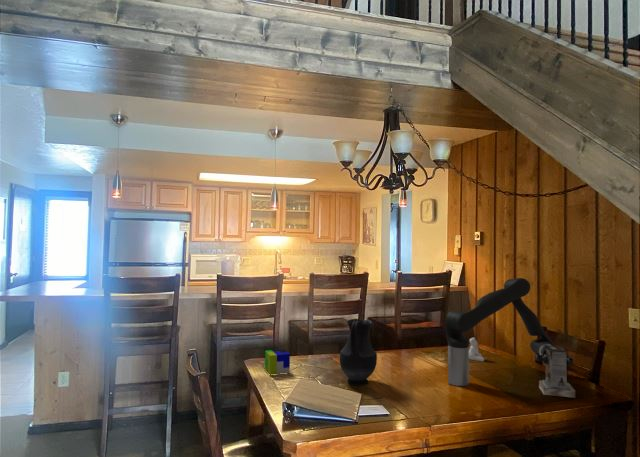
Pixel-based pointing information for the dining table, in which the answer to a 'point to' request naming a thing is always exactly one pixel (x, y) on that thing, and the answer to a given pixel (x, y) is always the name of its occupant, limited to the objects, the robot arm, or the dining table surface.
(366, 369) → the pitcher
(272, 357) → the puzzle toy
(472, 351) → the seated beast figurine
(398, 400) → the dining table surface
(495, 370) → the dining table surface
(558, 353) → the coffee box
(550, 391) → the plinth
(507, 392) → the dining table surface
